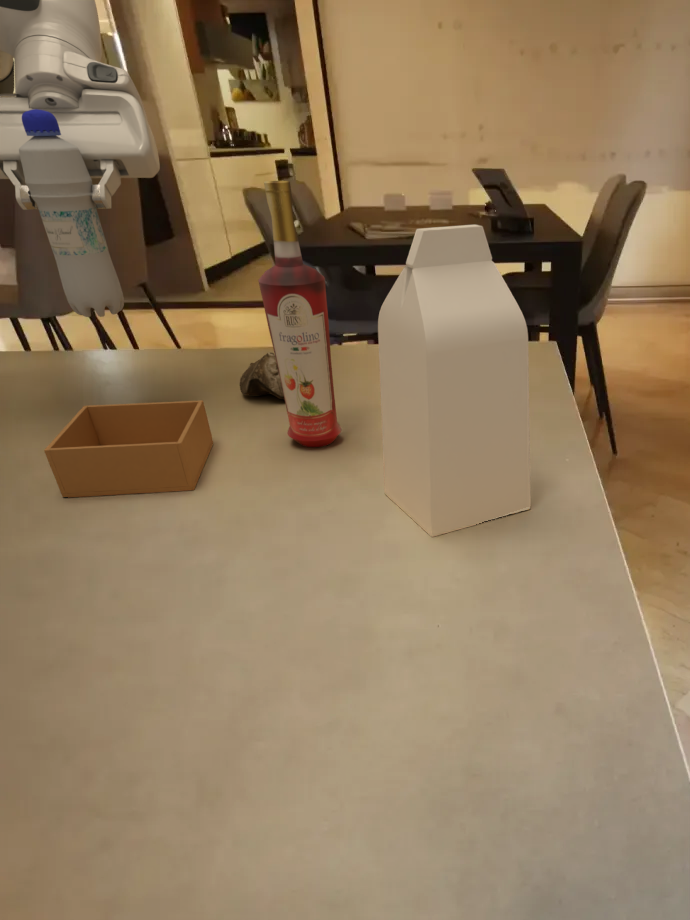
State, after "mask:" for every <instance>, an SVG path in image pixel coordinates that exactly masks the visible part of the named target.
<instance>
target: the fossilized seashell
mask: <svg viewBox="0 0 690 920" xmlns="http://www.w3.org/2000/svg"><path fill="white" fill-rule="evenodd" d="M239 390H240V392H241V394H242V395H243V396H257V397H258V396H267V395H272V396H274V397H276V398H278V399H280V400H285V399H284V394H283V389H282V385H281V380H280V375H279V370H278V366H277V361H276V357H275V353H274V352H271V351H270V352H269V351H268V352H266V353H265V354H264V355H263V356H262V357H260V358H259V359H257V360H256V361H255V362H250V364H249V366H248V367H247V368H246V369H245V370H244V372H243V373H242V375H241V376H240V379H239Z"/></svg>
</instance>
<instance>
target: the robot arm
mask: <svg viewBox="0 0 690 920" xmlns="http://www.w3.org/2000/svg"><path fill="white" fill-rule="evenodd" d="M98 12H99V11H98V8H97V4H96V0H0V180H10V182H11V183H12V185H13V186H14V191H15V192H14V193H15V194H14V195H15V200H16V202H17V205H19V207H20V208H21V210H23V211H27V210H28V211H29V210H30V211H31V210H39V209H38V206H37V204H36V202H35V201H34V200H33V198H32V197H31V196H30V195H31V193H30V190H29V188H28V186H27V185H26V183H25V177H24V172H23V167H22V162H21V158H20V153H19V148H20V147H21V146H22V145H24V144H25V143H26V142H27V141H28V140H30V139H31V138H32V137H33V136H27V134H26V132H25V129H24V126H23V123H22V114H23V113H24V112H26V111H29V110H34V109H38V110H44V111H48V112H50V113H52V114H53V115H54V116H55V118H56V120H57V122H58V125H59V129H60V132H61V135H57V137H59V138H61V139H63V140H65V141H67V142H69V143H71V144H73V145H75V146H76V147H78V149H79V150H80V153H81V155H82V158H83V160H84V163H85V165H86V168H87V170H88V173H89V175H90V177H91V179H100V181H99V182H98V184H92V185H91V190H92V194H91V195H92V200H93V202H94V203H95V206H96V209H99V210H103V209H104V210H107V209H108V210H109V209H112V197H113V196H114V195H115V193H116V192H117V190H118V189H119V187H120V186H121V185H122V179H134V178H136V179H140V178H141V179H144V178H145V179H152V178H154V177H156V175H157V174H158V173H159V171H160V169H161V165H160V164H161V163H160V156H159V149H158V147H157V141H156V138H155V136H154V133H153V131H152V128H151V126H150V123H149V119H148V115H147V112H146V108H145V105H144V103H143V100H142V97H141V96H140V93H139V91H138V89H137V87H136V85H135V83H134V81H133V79H132V78H131V76H130V74H129V73H128V71H127V70H126V69H124V68H121V67H118V66H114V65H110V64H107V63H104V62H102V58H103V57H102V56H103V51H102V35H101V34H102V33H101V26H100V25H101V24H100V19H99V13H98Z"/></svg>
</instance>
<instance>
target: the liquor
mask: <svg viewBox="0 0 690 920" xmlns="http://www.w3.org/2000/svg"><path fill="white" fill-rule="evenodd" d="M263 185H264V192H265V197H266V202H267V206H268V209H269V213H270V217H271V227H272V236H273V237H272V240H273V250H274V261H275V262H274V263H275V265H273V266H271V267H269V269H266V270H265V271H264V273H262V275H261V276H260V277H259V279H257V281H258V285H259V290H260V294H261V299H262V304H263V308H264V313H265V319H266V322H267V328H268V332H269V336H270V340H271V345H272V348H273V353H274V354H275V357H276V361H277V366H278V370H279V375H280V380H281V385H282V389H283V394H284V399H283V400H284V404H285V409H286V414H287V419H288V423H289V427H288V429H287V432H286V434H287V436H288V437H289V438H291V439H292V440H293V441H295V442H296V443H298V444H299V445H300V446H302V447H306V448H322V447H326V446H328V445H330V444H332V443H334V441H335V440H336V439H337V438H338V436H339V435H340V434H341V432H342V430H343V429H342V427H341V425H340V424H339V422H338V416H337V407H336V398H335V389H334V388H335V387H334V378H333V377H334V376H333V366H332V354H331V353H332V351H331V337H330V336H331V335H330V324H329V313H328V311H329V310H328V302H327V292H326V290H327V289H326V280H325V279H326V278H325V276H324V275H322V273H320V272H319V271H318V270H317V269H316V268H313V267H312V266H309V265H307V264H305V263H304V261H303V257H302V252H301V248H300V243H299V237H298V235H297V229H296V225H295V221H294V214H293V212H294V211H293V206H294V205H293V202H294V200H293V193H292V187H291V181H290V180H267V181H263Z"/></svg>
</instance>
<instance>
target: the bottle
mask: <svg viewBox="0 0 690 920" xmlns="http://www.w3.org/2000/svg"><path fill="white" fill-rule="evenodd" d="M22 123H23V126H24V129H25V132H26V134H27V136H33V137H32V138H31V139H30V140H28V141H27V142H26V143H25V144H24V145H22V146H21V147H20V148H19V153H20V158H21V162H22V167H23V172H24V177H25V183H26V185H27V186H28V188H29V190H30V193H31V195H30V196H31V197H32V198H33V200H34V201H35V202H36V205H37V206H38V209H37V210H38V212H39V215H40V218H41V221H42V224H43V227H44V230H45V233H46V236H47V239H48V242H49V245H50V247H51V251H52V253H53V256H54V259H55V263H56V266H57V267H56V268H57V270H58V273H59V278H60V282H61V285H62V288H63V293H64V295H65V298H66V300H67V303H68V304H69V307H70V309H71V310H73V312H74V313H75V314H77V315H79V316H82V317H85V318H91V317H92V314H91V313H92V312H91V310H92V309H93V310H94V311H95V313H96V314H97V316H98V317H99V318H104V317H105V316H106V311H105V310H106V308H108V310H109V312H110V314H111V315H112V316H113V315H117V314H118V313H119V312H121V311H122V310H123V309H124V307H125V297H124V293H123V289H122V286H121V283H120V280H119V277H118V274H117V271H116V269H115V266H114V264H113V261H112V258H111V255H110V252H109V247H108V244H107V240H106V237H105V234H104V230H103V227H102V224H101V223H102V222H101V220H100V216H99V213H98V210H97V209H98V208H97V207H96V204H95V203H94V202H93V200H92V195H91V194H92V190H91V185H93V178H91V177H90V175H89V173H88V170H87V168H86V165H85V163H84V160H83V158H82V155H81V153H80V150H79V149H78V147H76V146H75V145H73V144H71V143H69V142H67V141H65V140H63V139H61V138H59V137H57V135H61V132H60V129H59V125H58V122H57V120H56V118H55V116H54V115H53V114H52V113H50V112H48V111H44V110H38V109H34V110H29V111H26V112H24V113H23V114H22Z"/></svg>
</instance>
